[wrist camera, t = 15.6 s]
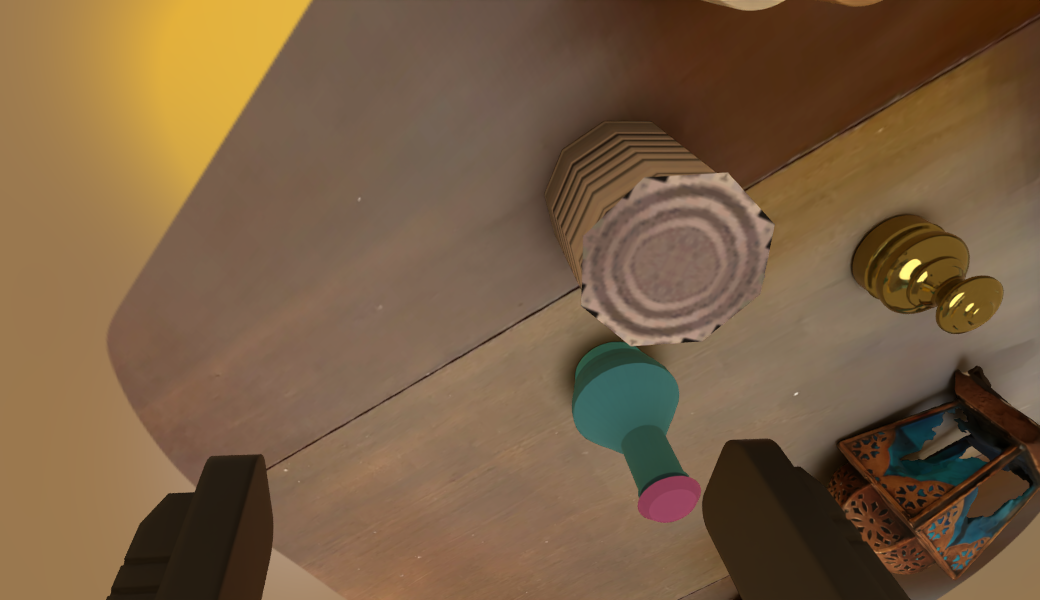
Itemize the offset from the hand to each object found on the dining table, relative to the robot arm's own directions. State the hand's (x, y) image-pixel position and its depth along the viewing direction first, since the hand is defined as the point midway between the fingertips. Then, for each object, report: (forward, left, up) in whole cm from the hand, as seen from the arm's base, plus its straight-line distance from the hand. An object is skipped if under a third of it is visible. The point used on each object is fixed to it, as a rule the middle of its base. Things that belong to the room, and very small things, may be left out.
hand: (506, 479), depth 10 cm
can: (+14, -7, -33) cm, 37 cm away
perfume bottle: (+17, -24, -33) cm, 44 cm away
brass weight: (+40, -11, -33) cm, 53 cm away
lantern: (+51, -35, -33) cm, 70 cm away
